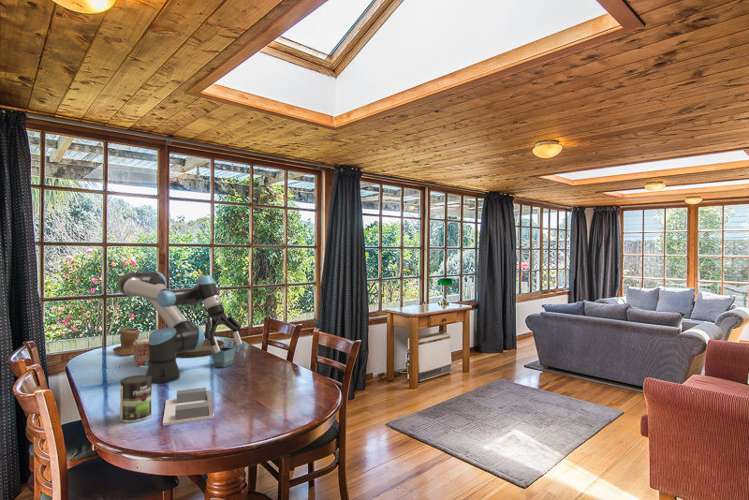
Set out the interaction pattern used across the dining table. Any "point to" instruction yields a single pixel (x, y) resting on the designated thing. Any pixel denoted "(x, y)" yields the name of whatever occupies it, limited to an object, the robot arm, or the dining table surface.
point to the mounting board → (170, 413)
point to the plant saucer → (201, 349)
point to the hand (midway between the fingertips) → (229, 348)
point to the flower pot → (223, 356)
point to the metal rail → (209, 403)
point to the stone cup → (127, 341)
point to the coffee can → (135, 398)
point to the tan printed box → (141, 352)
